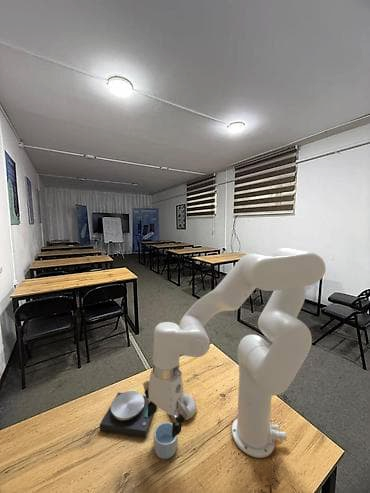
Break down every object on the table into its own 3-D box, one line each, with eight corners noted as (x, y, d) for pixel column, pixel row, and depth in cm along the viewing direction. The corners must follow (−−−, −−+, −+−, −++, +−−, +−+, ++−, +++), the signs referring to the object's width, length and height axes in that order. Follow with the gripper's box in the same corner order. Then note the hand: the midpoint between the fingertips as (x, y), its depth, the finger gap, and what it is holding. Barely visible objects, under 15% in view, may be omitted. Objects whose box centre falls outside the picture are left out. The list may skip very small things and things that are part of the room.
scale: (157, 403, 77) (157, 396, 76) (145, 438, 64) (146, 430, 64) (118, 398, 79) (118, 391, 78) (99, 431, 66) (99, 423, 66)
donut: (164, 420, 70) (193, 426, 68) (164, 411, 70) (193, 416, 68) (172, 397, 80) (198, 401, 78) (172, 388, 80) (198, 392, 78)
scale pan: (148, 395, 76) (148, 392, 76) (137, 422, 65) (137, 420, 65) (119, 391, 77) (119, 389, 77) (104, 417, 66) (104, 415, 66)
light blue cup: (178, 437, 64) (179, 423, 64) (175, 461, 58) (175, 446, 57) (157, 434, 65) (157, 420, 65) (151, 457, 59) (151, 442, 58)
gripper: (198, 374, 57) (195, 432, 59) (154, 350, 68) (152, 399, 69) (181, 390, 51) (178, 454, 53) (135, 361, 62) (134, 415, 63)
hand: (163, 423), depth 61 cm, fingers open, 9 cm apart
